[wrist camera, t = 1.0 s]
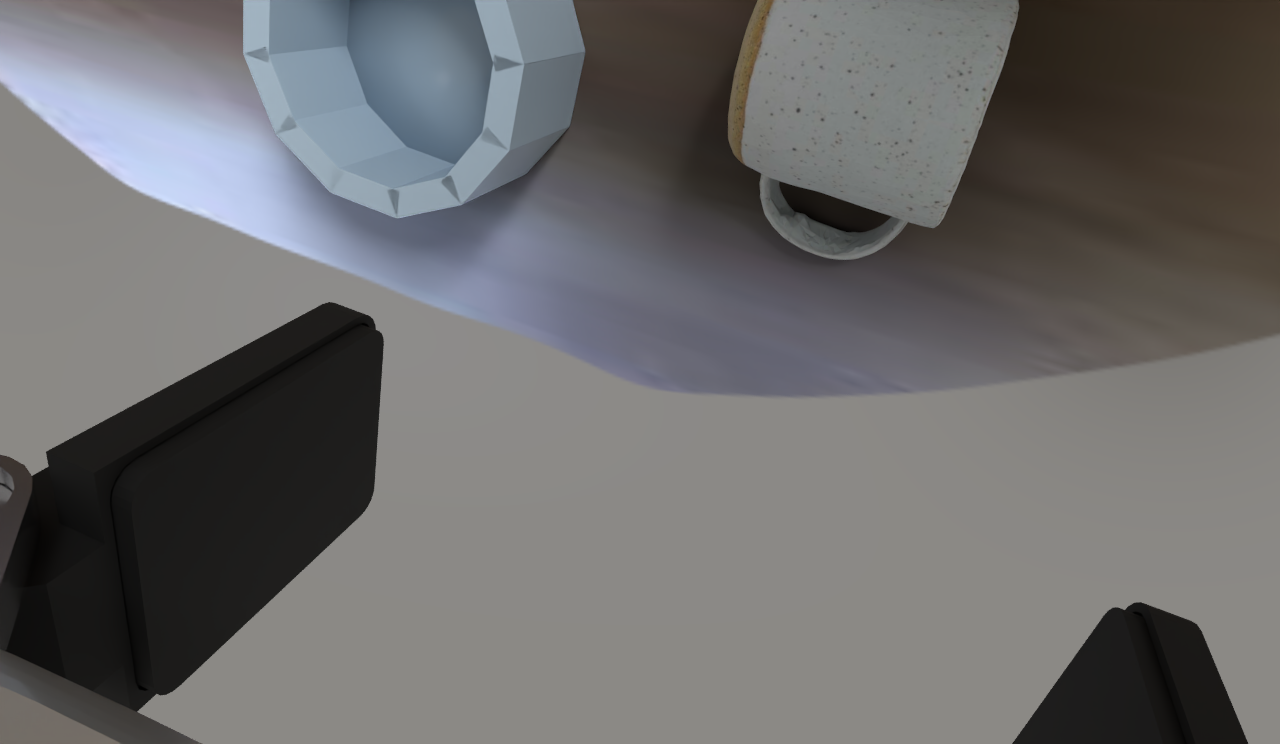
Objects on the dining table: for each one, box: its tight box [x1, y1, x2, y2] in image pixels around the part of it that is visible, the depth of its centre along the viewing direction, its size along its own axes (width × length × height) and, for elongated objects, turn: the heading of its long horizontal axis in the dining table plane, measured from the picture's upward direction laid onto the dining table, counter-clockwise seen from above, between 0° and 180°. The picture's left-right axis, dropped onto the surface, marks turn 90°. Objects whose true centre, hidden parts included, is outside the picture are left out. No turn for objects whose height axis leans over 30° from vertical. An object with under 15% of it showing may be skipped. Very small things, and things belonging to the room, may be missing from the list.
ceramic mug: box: [728, 0, 1019, 260], centre depth 29 cm, size 11×8×8 cm
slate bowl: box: [243, 0, 585, 219], centre depth 33 cm, size 12×12×6 cm
